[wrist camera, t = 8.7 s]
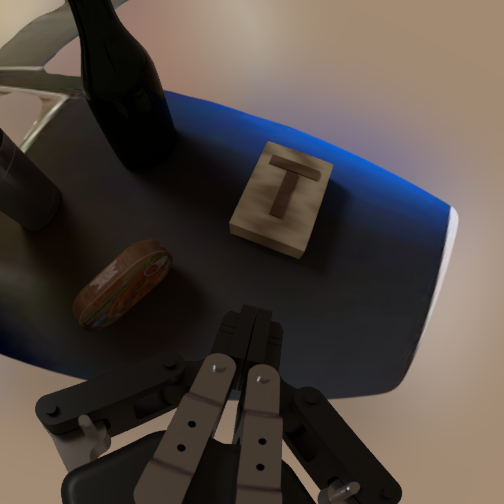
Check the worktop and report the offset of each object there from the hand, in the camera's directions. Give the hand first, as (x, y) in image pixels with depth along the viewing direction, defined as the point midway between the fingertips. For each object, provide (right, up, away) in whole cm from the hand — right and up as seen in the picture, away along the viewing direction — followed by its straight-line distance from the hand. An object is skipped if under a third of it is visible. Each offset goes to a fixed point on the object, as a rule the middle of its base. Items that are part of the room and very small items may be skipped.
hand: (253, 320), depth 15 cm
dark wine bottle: (-17, +21, +31) cm, 41 cm away
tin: (-16, -2, +24) cm, 29 cm away
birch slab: (+2, +5, +24) cm, 25 cm away
